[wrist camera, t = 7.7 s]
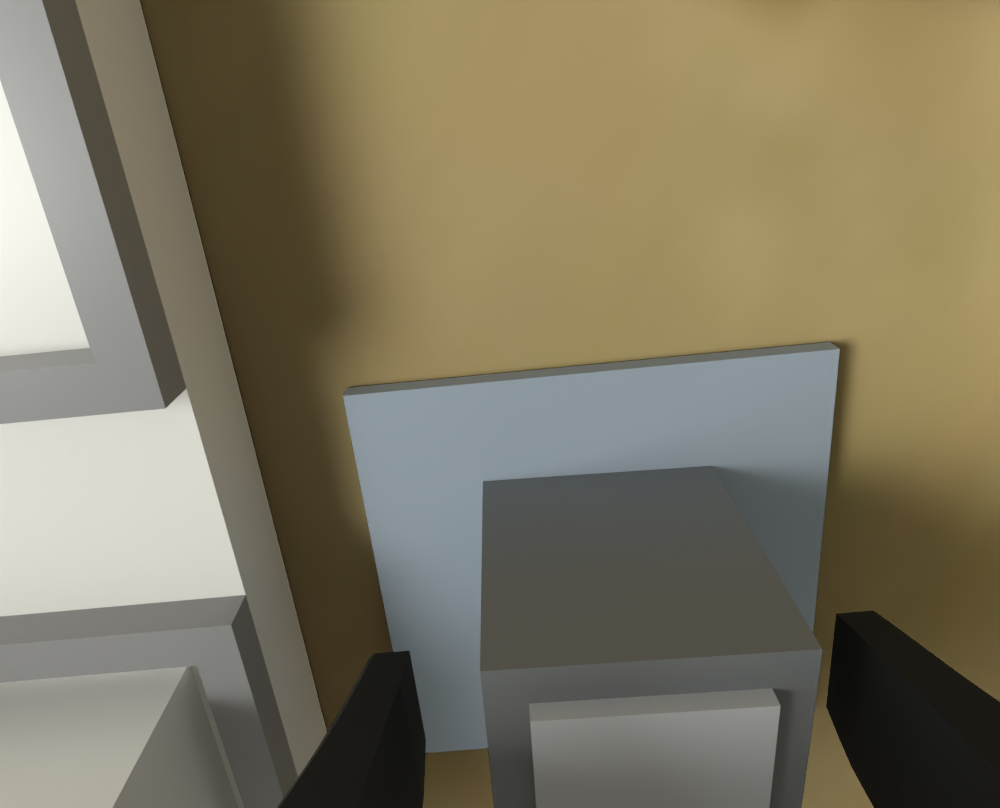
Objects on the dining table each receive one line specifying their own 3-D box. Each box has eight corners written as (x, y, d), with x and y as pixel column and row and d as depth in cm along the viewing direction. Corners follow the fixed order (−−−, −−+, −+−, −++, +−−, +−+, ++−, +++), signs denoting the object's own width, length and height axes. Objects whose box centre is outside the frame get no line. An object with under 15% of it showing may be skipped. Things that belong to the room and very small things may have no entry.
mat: (414, 740, 17) (412, 754, 17) (346, 387, 14) (343, 395, 13) (798, 708, 17) (804, 722, 16) (830, 341, 13) (839, 349, 13)
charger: (498, 659, 16) (503, 914, 11) (482, 480, 14) (479, 688, 9) (702, 646, 16) (799, 896, 11) (711, 466, 14) (832, 666, 9)
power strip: (158, 1015, 21) (112, 1142, 19) (-417, -184, 10) (-730, -281, 7) (395, 997, 21) (382, 1123, 18) (77, -241, 10) (-67, -361, 7)
